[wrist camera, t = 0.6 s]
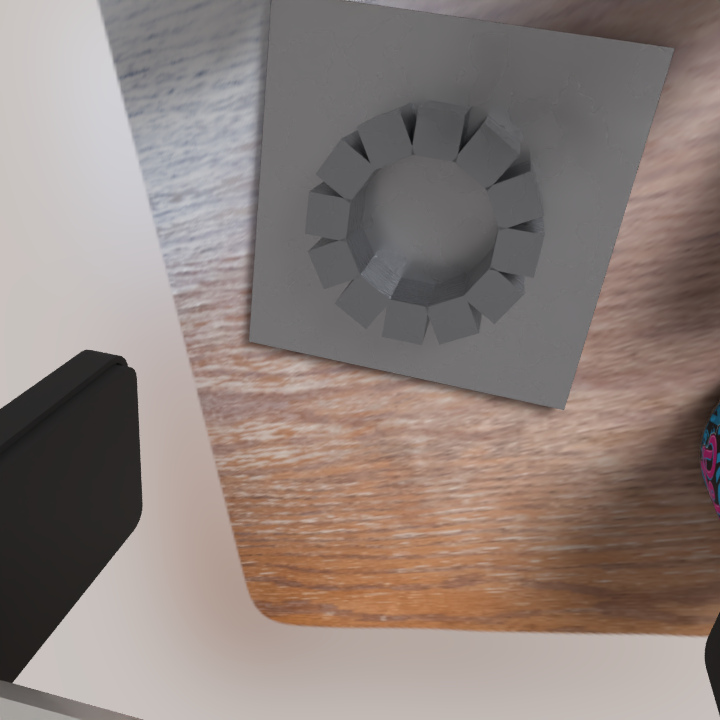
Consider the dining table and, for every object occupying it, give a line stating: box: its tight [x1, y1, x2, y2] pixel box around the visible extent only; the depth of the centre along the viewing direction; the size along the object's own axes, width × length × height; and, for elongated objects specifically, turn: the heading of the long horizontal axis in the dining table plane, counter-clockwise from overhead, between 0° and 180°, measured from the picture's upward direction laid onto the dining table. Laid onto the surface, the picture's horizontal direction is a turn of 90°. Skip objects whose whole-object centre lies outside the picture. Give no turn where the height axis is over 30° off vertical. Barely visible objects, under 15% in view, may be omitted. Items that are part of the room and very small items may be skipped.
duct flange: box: [249, 0, 675, 410], centre depth 33 cm, size 18×18×4 cm
